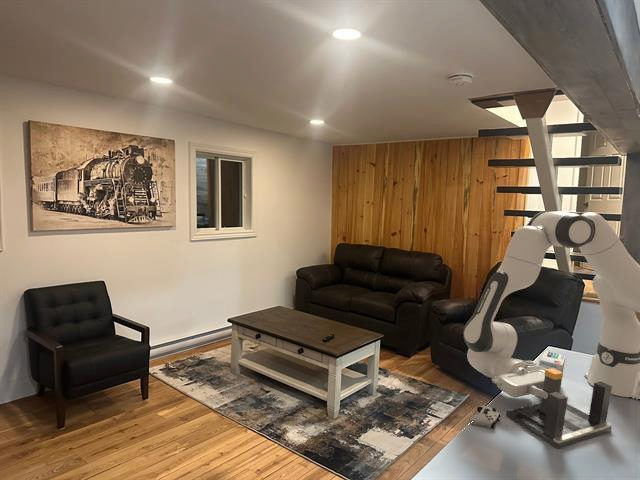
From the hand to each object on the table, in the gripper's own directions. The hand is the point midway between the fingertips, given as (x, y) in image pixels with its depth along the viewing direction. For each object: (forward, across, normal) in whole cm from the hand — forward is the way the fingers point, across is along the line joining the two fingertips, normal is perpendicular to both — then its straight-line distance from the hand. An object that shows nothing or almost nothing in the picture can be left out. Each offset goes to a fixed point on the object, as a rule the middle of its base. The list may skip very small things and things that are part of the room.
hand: (553, 394), depth 121 cm
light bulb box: (-14, +18, +8) cm, 24 cm away
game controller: (-6, -18, +8) cm, 21 cm away
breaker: (-1, 0, +6) cm, 6 cm away
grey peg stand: (+2, 0, +8) cm, 8 cm away
